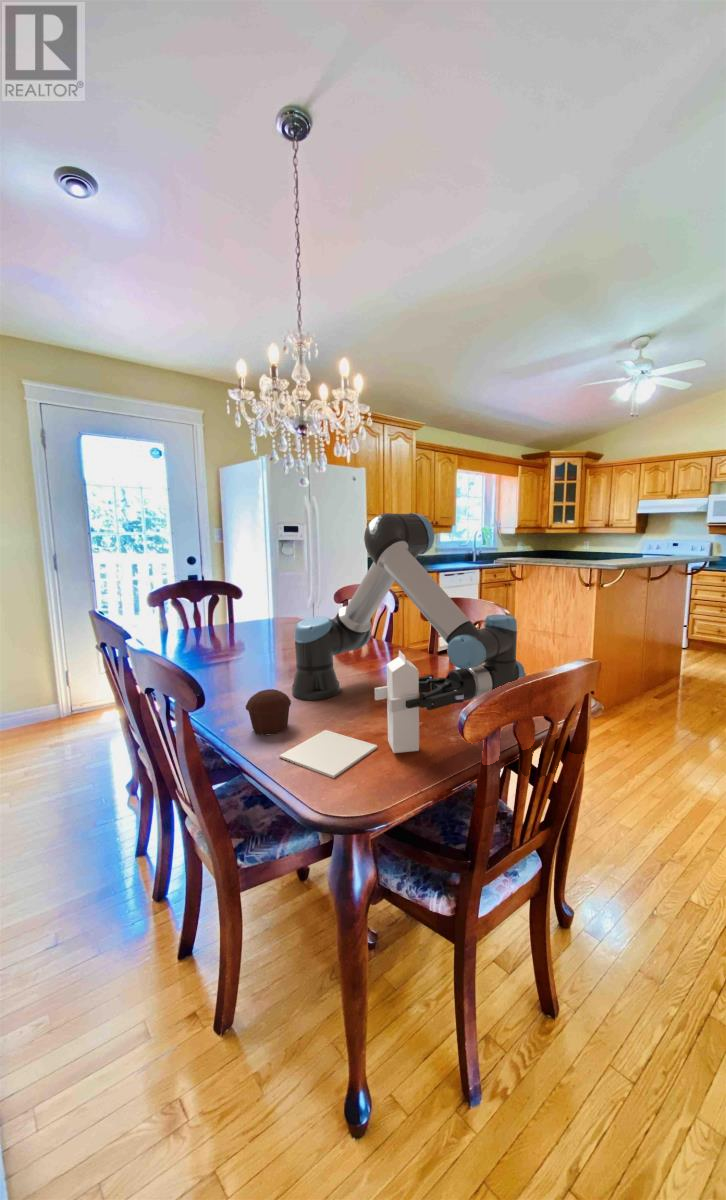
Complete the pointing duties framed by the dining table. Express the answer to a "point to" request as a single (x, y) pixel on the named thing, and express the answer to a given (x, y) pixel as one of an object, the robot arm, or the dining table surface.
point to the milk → (406, 721)
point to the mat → (328, 753)
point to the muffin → (269, 711)
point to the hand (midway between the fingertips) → (383, 699)
